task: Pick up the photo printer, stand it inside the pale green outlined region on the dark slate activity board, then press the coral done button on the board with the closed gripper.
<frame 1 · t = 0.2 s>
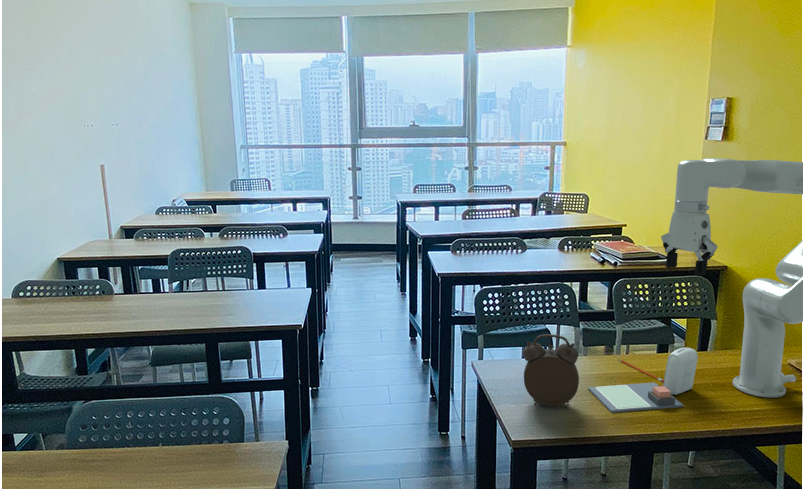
hand: (685, 271, 147), 35 cm above the table, tool pointing down, fingers open, 9 cm apart
alarm clock: (549, 404, 149), on the table
activity board: (633, 397, 152), on the table
done button: (661, 392, 148), point 3 cm above the table, slide at 0.0 cm
pencil: (639, 372, 169), on the table
photo printer: (677, 390, 155), on the table, touching activity board
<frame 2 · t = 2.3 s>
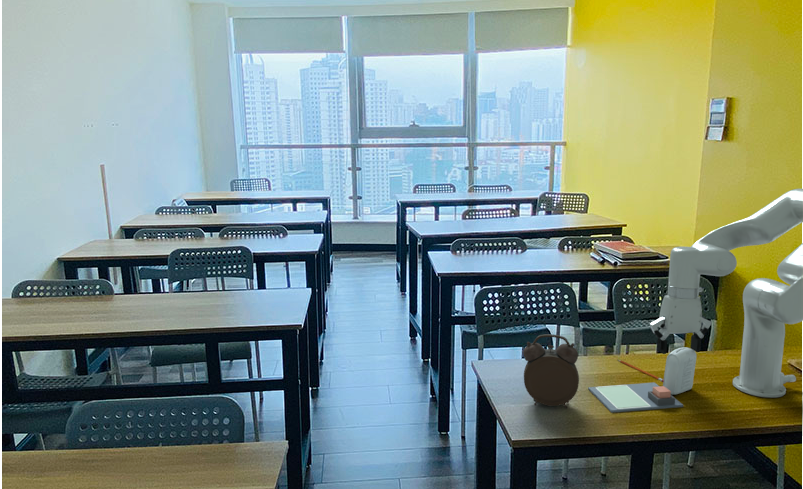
hand: (678, 351, 153), 12 cm above the table, tool pointing down, fingers open, 9 cm apart
photo printer: (677, 390, 155), on the table, touching activity board, gripper
everything else where it was.
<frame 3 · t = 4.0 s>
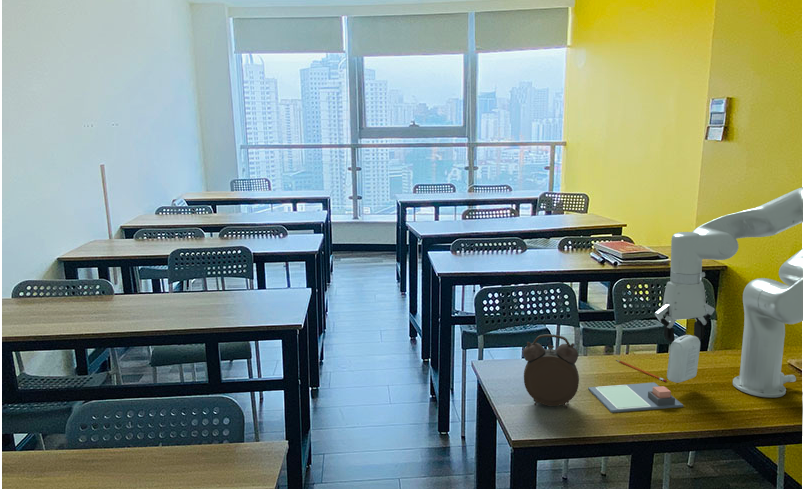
hand: (683, 338, 152), 16 cm above the table, tool pointing down, fingers closed on photo printer, 8 cm apart
photo printer: (681, 378, 154), point 4 cm above the table, touching gripper
everything else where it was.
when the fingers open (13 cm above the table, at t = 8.5 s): photo printer stays where it is, resting on activity board.
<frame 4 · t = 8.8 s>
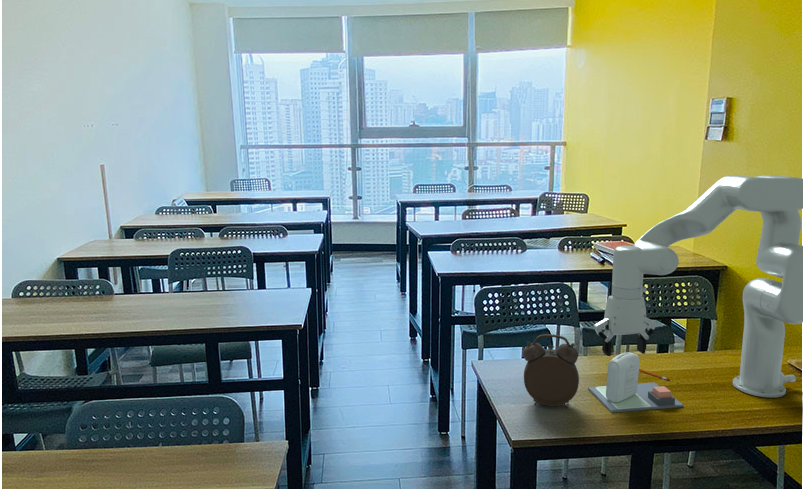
hand: (623, 353, 149), 13 cm above the table, tool pointing down, fingers open, 9 cm apart
photo printer: (621, 396, 151), point 1 cm above the table, touching activity board
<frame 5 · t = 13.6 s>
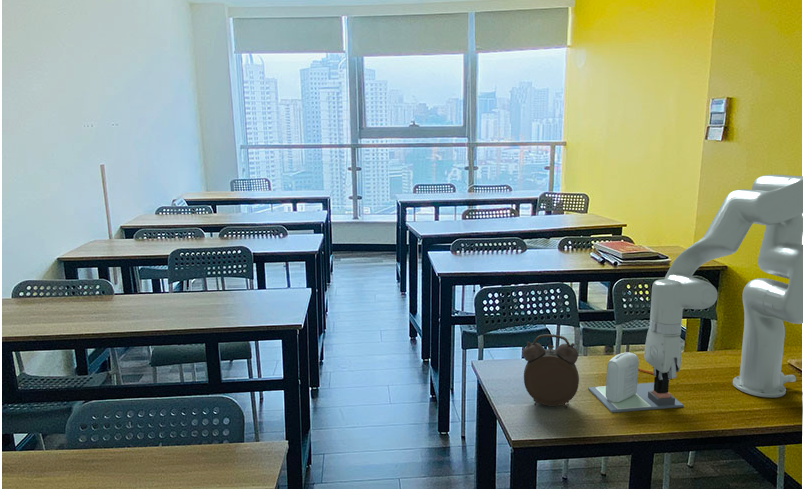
hand: (660, 391, 148), 3 cm above the table, tool pointing down, fingers closed
done button: (661, 395, 148), point 2 cm above the table, slide at 0.7 cm, touching gripper
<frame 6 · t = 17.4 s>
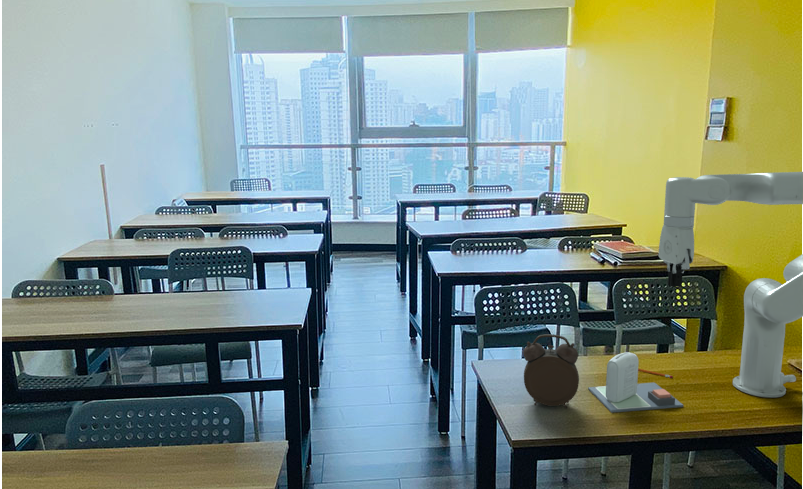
hand: (674, 285, 156), 29 cm above the table, tool pointing down, fingers closed
done button: (661, 395, 148), point 2 cm above the table, slide at 0.8 cm
at the end: photo printer 0.2 cm from the target spot on the activity board, point 0.5 cm above the activity board's base; photo printer tilted 0°; done button slide at 0.8 cm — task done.
